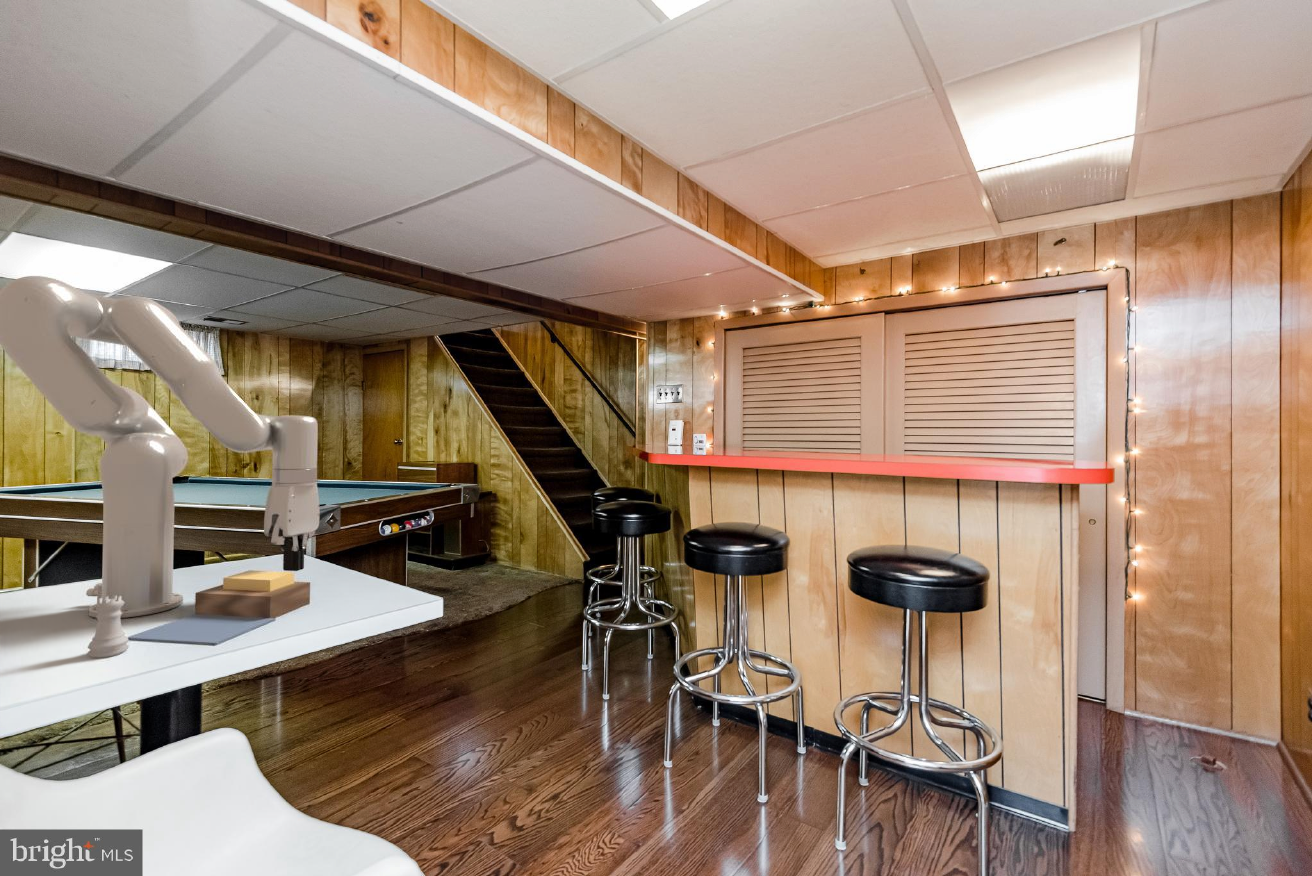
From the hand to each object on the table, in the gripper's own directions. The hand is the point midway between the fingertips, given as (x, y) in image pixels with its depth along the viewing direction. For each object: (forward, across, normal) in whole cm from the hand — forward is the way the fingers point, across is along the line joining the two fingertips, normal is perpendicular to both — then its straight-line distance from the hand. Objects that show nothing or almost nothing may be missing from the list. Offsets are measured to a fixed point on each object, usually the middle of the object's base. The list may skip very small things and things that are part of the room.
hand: (293, 569), depth 115 cm
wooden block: (+5, +10, 0) cm, 11 cm away
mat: (+5, +21, 0) cm, 21 cm away
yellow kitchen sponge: (+1, +9, 0) cm, 9 cm away
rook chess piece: (+5, +32, -4) cm, 32 cm away
